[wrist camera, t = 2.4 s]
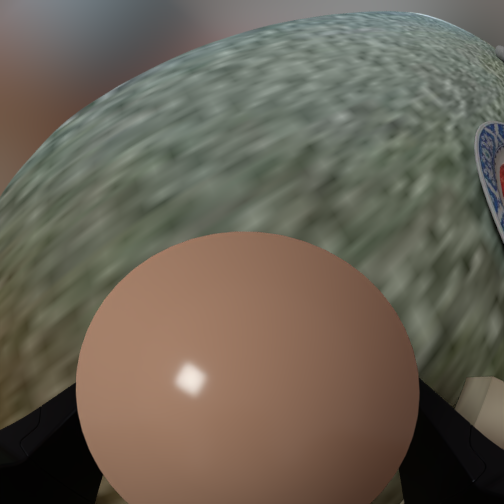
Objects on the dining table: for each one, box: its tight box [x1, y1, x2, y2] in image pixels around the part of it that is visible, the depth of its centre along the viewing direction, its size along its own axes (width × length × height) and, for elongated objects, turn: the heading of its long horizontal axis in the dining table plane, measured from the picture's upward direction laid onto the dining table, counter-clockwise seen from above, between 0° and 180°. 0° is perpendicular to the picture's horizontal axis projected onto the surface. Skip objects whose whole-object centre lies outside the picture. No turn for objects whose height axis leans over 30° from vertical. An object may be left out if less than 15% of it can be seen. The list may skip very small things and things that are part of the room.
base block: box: [400, 376, 504, 504], centre depth 9 cm, size 12×12×3 cm
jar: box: [76, 232, 420, 504], centre depth 9 cm, size 5×5×13 cm
